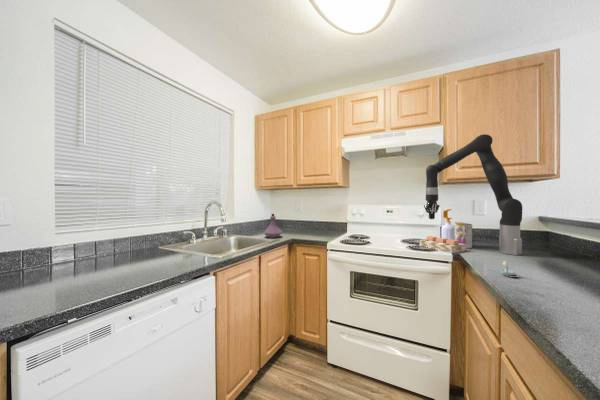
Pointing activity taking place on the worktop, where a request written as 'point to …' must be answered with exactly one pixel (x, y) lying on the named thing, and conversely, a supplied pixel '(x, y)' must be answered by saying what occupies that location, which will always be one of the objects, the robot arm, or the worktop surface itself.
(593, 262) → the worktop surface
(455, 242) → the button inner
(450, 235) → the soap bottle
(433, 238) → the button outer
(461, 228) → the candy bar box
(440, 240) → the button middle
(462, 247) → the button board
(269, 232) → the flask
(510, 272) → the pacifier
